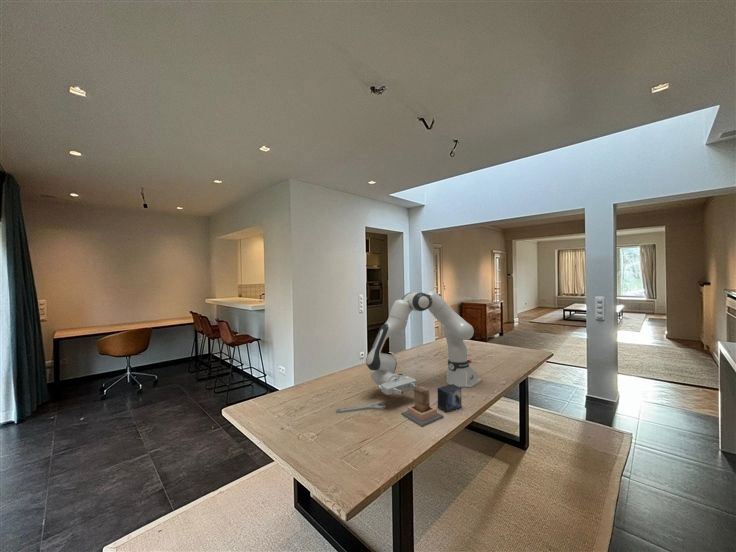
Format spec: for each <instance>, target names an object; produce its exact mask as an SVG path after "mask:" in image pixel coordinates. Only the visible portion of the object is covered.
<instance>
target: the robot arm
mask: <svg viewBox="0 0 736 552" xmlns="http://www.w3.org/2000/svg"><path fill="white" fill-rule="evenodd" d="M427 310H428V311H429V313H430V314H431V315H432V316H433V317H434V318H435V319H436V320H437V321H438V323H440V324H441V330H442V332H443V333H444V336H445V340H446V344H447V351H448V359H447V365H448V366H447V370H446V371H447V373H446V377H445V380H446V384H448V385H451V384H454V385H456V386H458V387H460V388H465V387H466V388H472V387H474V386H475V385H477V384H479V383H481V381H482V378H480V377H478V373H477V371H476V370H475V368H473V367H471V365H470V364H472V363H473V362H472V360H471V359H468V349H467V348H468V347H467V346H466V344H465V341H468V340H471V339H472V338H473V336H474V334H475V333H474V332H475V330H474V327H473V325H471V324H470V323H469V322H467V320H465V319H464V318H463V317H461V316H460V314H458V313H457V312H456V311H454V309H452V307H451V306H450V305H449V304H448V303H447V302H446V300H444V298H443V297H442V296H441V295H440V294H438V293H437V292H436V291H434V290H429V291H426V292H419V291H418V292H417V291H415V292H414V291H413V292H407V293H406V294H404V296H403V297H402V298H401V299H396V300H395V302H393V304H392V307H391V309H390V311H389V315H388V318H387V320H386V322H385V323H384V324H382V325H381V327H379V329H378V332H377V334H376V337H375V339H374V342H373V344H372V346H371V348H370V350H369V352H368V353H367V355H366V358H365V365H366V366H367V368H368V369H369V370H370V371H371V373H370V378H371V380H372V381H373V382H374V383H375V384H376V385H378V386H377V388H378V389H379V390H380V391H381V393H383V394H384V395H387V396H391V395H394V394H396V395H397V394H398V395H400V396H401V395H403V393H404V391H407V390H410V389H412V390H413V391H414V389H415V388H418V386H417V380H416V379H415V378H414V377H412V376H409V375H406V374H405V373H395V372H396V370H397V365H398V364H397V359H396V356H395V355H393V354H388V353H383V352H382V349H383V347H384V345H385V343H386V340H387V339H388V338H390V337H391V336H394V335H395V336H396V335H398V334H401V333H403V331H405V329H406V327H407V324H408V320H409V315H410V314H411V312H413V311H414V312H424V311H427ZM464 340H465V341H464Z"/></svg>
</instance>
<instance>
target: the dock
mask: <svg viewBox="0 0 736 552" xmlns="http://www.w3.org/2000/svg"><path fill="white" fill-rule="evenodd" d="M400 414H401V416H402V415H403V417H404V418H405V419H407V418H408V420H409V421H411V422H412V421H413V423H414V424H416V425H417V424H418V425H417V426H419V425H420V426H419V427H421V428H423V427H425V425H426V426H428V425H430V424H433V423H435V422H438V421H440V420H442V419H444V417H445V416H444V415H443V414H441V413H439V412H438V408H436V407H434V406H432V405H430V410H429V411H426V412H424V413H421V412H419V411H417V410H415V404H413V405H409V406H407V410H406V411H402V412H401V413H400ZM439 419H440V420H439ZM437 420H438V421H437Z"/></svg>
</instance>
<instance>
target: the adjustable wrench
mask: <svg viewBox="0 0 736 552" xmlns="http://www.w3.org/2000/svg"><path fill="white" fill-rule="evenodd" d="M385 409H386V404H384V405H383V403H382V402H379V401H377V402H373V403H371V404H368V405H361V406H360V405H357V406H351V407H341V408H336V409H335V413H336V414H342V413H350V412H358V411H367V410H376V411H382V410H385Z"/></svg>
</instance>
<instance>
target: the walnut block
mask: <svg viewBox="0 0 736 552" xmlns="http://www.w3.org/2000/svg"><path fill="white" fill-rule="evenodd" d="M413 395H414V396H413V397H414V404H413V405H415V410H417V411H419V412H421V413H424V412H426V411H429V410H430V406H431V404H430V402H431V401H430V389H429V388H426V387H424V386H419V387H418V386H417V388H415V389H414V390H413Z"/></svg>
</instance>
